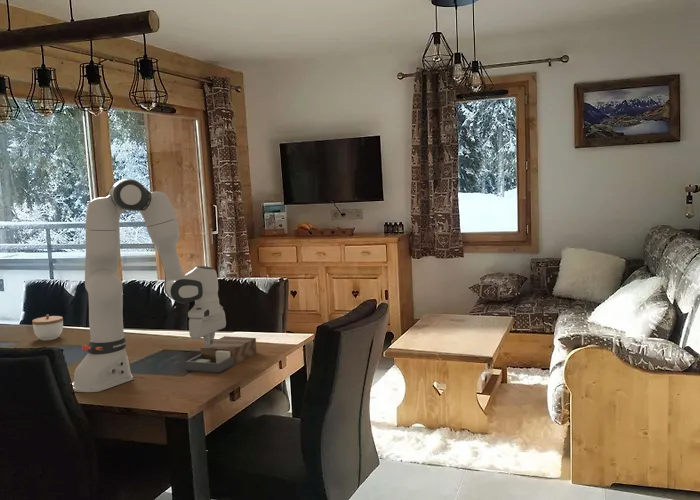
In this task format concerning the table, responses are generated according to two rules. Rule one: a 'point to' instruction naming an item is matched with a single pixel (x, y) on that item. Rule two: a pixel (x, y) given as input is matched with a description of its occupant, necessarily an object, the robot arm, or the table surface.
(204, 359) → the sage tile
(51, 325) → the lidded bowl
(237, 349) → the brown flat block
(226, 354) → the cream tile
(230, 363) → the box
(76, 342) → the table surface
